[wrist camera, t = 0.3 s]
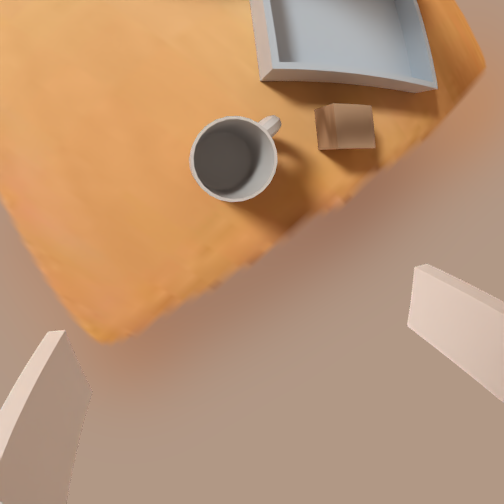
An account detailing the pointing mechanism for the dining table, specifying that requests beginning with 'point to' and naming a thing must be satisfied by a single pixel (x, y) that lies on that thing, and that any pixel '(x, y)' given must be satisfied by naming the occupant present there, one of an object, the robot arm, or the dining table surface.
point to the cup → (235, 157)
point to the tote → (344, 43)
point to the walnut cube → (345, 126)
